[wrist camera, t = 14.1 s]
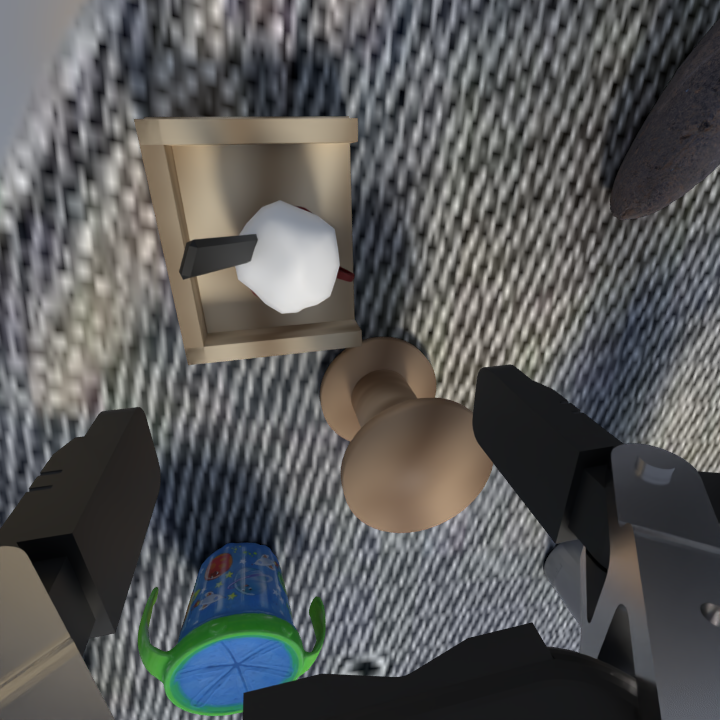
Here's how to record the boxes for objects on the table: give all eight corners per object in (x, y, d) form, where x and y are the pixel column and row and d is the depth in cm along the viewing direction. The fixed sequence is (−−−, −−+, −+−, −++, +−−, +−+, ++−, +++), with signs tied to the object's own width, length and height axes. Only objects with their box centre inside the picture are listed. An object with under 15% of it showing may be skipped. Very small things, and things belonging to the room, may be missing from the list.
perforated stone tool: (610, 230, 35) (686, 245, 29) (571, 195, 33) (643, 203, 27) (747, 48, 31) (869, 20, 25) (712, -5, 29) (835, -50, 23)
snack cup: (334, 542, 43) (354, 643, 34) (291, 610, 46) (299, 720, 37) (178, 509, 37) (153, 620, 28) (140, 590, 40) (107, 714, 31)
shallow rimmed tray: (346, 117, 27) (357, 112, 24) (353, 333, 33) (362, 350, 31) (147, 118, 25) (132, 112, 22) (195, 349, 31) (189, 369, 28)
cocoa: (355, 254, 30) (422, 304, 20) (299, 318, 31) (334, 397, 21) (250, 152, 26) (264, 147, 15) (187, 229, 27) (160, 274, 16)
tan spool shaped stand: (435, 330, 35) (503, 396, 25) (429, 429, 39) (485, 517, 30) (316, 343, 33) (340, 418, 23) (323, 445, 37) (346, 545, 28)
